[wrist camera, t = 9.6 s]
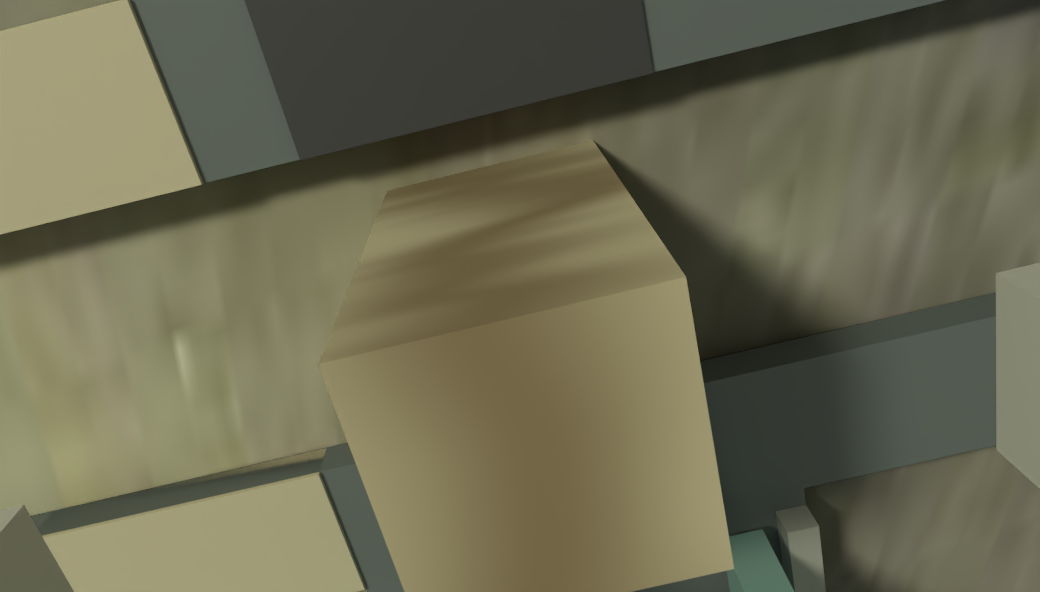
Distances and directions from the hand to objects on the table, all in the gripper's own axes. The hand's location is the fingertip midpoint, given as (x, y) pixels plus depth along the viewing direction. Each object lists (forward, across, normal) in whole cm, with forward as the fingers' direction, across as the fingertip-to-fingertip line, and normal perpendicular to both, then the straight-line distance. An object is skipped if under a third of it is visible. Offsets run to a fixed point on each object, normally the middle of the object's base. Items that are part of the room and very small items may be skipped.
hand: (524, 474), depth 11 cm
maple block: (+8, 0, 0) cm, 8 cm away
